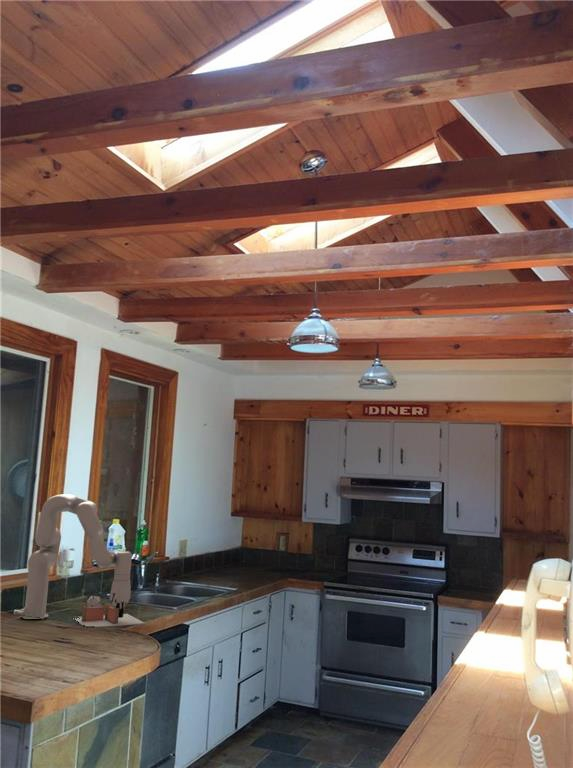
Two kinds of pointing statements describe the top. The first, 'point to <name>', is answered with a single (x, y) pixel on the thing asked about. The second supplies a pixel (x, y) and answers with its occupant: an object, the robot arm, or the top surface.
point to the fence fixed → (94, 613)
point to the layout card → (124, 620)
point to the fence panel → (113, 614)
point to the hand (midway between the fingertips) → (119, 617)
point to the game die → (94, 601)
